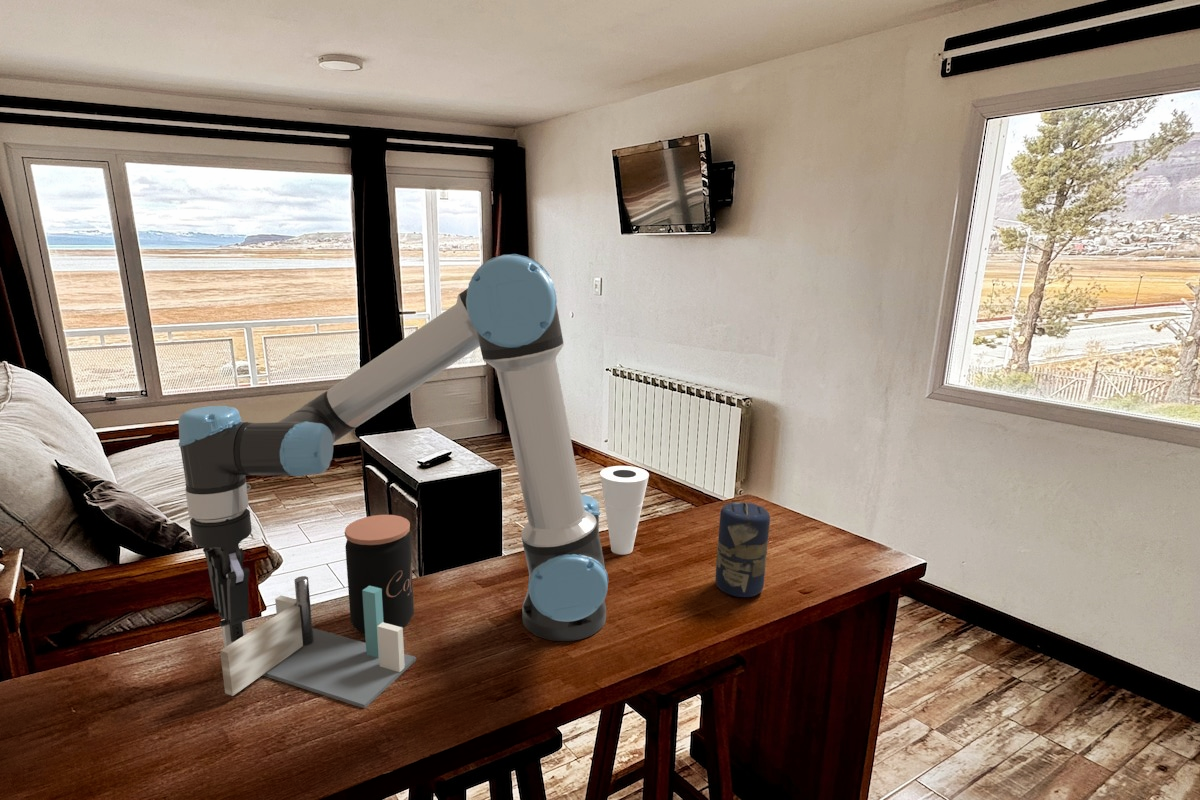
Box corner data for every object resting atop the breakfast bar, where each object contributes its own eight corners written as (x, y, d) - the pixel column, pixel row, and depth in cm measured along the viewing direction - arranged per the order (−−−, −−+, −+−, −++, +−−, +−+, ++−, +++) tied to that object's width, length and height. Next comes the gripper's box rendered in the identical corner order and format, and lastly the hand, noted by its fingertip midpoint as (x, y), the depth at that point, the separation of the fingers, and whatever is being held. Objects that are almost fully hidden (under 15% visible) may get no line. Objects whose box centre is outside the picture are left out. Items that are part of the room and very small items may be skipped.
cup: (646, 561, 137) (650, 482, 133) (597, 560, 137) (599, 481, 133) (644, 540, 147) (647, 466, 143) (598, 538, 147) (600, 465, 143)
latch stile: (385, 655, 103) (381, 588, 100) (378, 661, 101) (374, 593, 99) (373, 652, 104) (369, 585, 101) (366, 657, 102) (362, 590, 99)
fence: (404, 667, 99) (402, 627, 97) (399, 672, 98) (397, 631, 96) (284, 632, 107) (281, 595, 106) (278, 636, 106) (275, 598, 104)
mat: (416, 660, 102) (416, 656, 102) (364, 708, 91) (364, 704, 91) (295, 626, 110) (295, 623, 110) (235, 666, 99) (234, 663, 99)
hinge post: (316, 643, 105) (310, 577, 103) (307, 650, 104) (301, 583, 101) (307, 640, 106) (301, 575, 103) (297, 647, 104) (291, 580, 102)
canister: (709, 594, 124) (715, 508, 120) (719, 573, 133) (725, 492, 129) (759, 605, 120) (767, 517, 117) (766, 582, 129) (774, 499, 125)
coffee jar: (395, 642, 106) (390, 543, 102) (338, 633, 108) (330, 536, 104) (425, 608, 116) (421, 517, 112) (372, 601, 119) (366, 511, 115)
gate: (295, 643, 104) (292, 605, 102) (303, 645, 103) (299, 607, 102) (225, 693, 92) (219, 650, 90) (232, 696, 91) (227, 653, 90)
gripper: (263, 519, 90) (278, 665, 95) (233, 494, 99) (248, 629, 104) (204, 534, 85) (223, 688, 90) (177, 506, 94) (196, 648, 99)
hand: (236, 656), depth 97 cm, fingers closed
